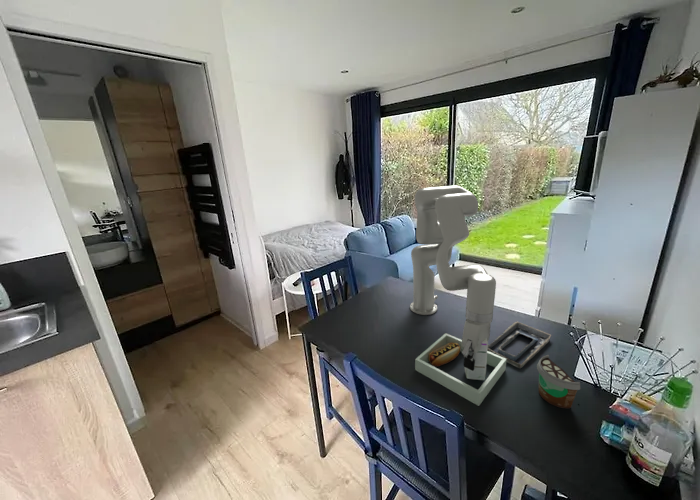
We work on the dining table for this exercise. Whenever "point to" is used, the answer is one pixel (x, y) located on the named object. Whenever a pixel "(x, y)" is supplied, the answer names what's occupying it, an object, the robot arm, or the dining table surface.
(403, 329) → the dining table surface
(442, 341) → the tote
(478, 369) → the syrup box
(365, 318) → the dining table surface
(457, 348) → the hot dog
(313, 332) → the dining table surface
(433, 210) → the robot arm
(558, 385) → the food container
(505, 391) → the dining table surface
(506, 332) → the picture frame
